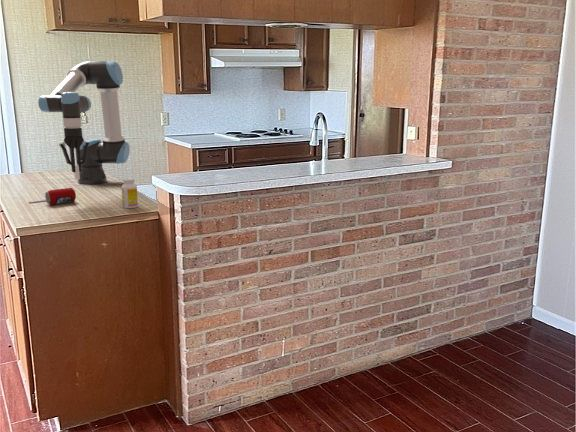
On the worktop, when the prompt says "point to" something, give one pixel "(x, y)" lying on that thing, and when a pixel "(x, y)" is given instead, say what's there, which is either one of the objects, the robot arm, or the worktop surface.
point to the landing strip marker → (38, 201)
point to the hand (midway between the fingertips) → (77, 178)
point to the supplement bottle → (129, 193)
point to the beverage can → (60, 196)
